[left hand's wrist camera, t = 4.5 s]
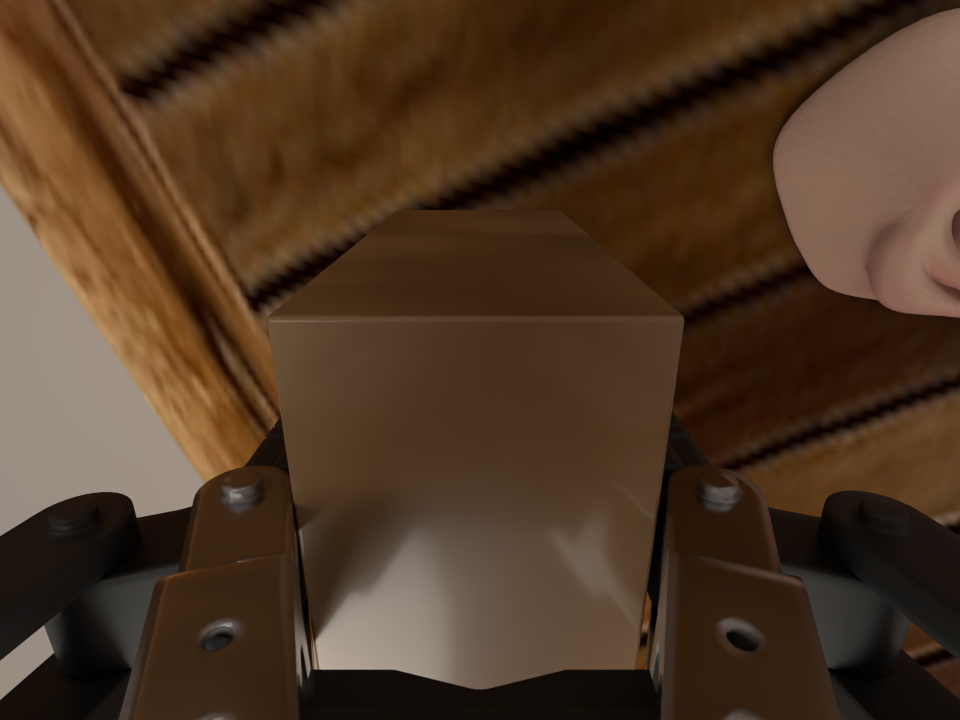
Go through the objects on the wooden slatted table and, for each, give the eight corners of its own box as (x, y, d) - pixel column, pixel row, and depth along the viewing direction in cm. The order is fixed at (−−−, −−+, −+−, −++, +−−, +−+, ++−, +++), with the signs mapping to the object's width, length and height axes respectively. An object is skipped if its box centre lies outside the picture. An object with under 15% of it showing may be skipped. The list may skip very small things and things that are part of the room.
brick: (407, 439, 19) (329, 762, 9) (395, 209, 16) (263, 316, 6) (549, 439, 19) (625, 763, 9) (561, 209, 16) (687, 315, 6)
